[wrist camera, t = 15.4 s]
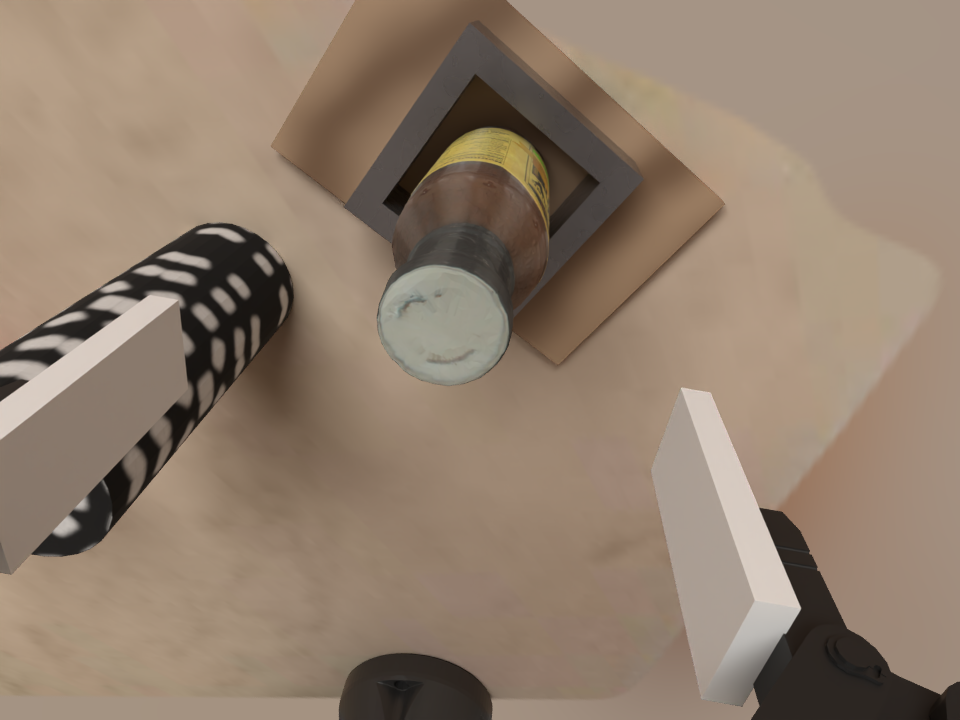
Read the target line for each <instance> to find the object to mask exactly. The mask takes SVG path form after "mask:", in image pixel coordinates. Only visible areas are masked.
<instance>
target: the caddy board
mask: <svg viewBox="0 0 960 720" xmlns="http://www.w3.org/2000/svg"><path fill="white" fill-rule="evenodd" d="M477 20H479V21H480V22H481V23H482V24H483V25H484V26H486V27H487V28H488V29H489V30H490V31H491V32H492V33H493V34H494V35H496V36H497V37H498V38H499V39H500V40H501V41H502V42H503V43H504V44H506V45H507V46H508V47H509V48H510V49H511V50H512V51H513V52H514V53H516V54H517V55H518V56H519V57H520V58H521V59H522V60H523V61H524V62H525V63H527V64H528V65H529V66H530V67H531V68H532V69H533V70H534V71H535V72H537V73H538V74H539V75H540V76H541V77H542V78H543V79H544V80H545V81H547V82H548V83H549V84H550V85H551V86H552V87H553V88H554V89H555V90H557V91H558V92H559V93H560V94H561V95H562V96H563V97H564V98H565V99H566V100H568V101H569V102H570V103H571V104H572V105H573V106H574V107H575V108H576V109H578V110H579V111H580V112H581V113H582V114H583V115H584V116H585V117H586V118H588V119H589V120H590V121H591V122H592V123H593V124H594V125H595V126H596V127H598V128H599V129H600V130H601V131H602V132H603V133H604V134H605V135H606V136H608V137H609V138H610V139H611V140H612V141H613V142H614V143H615V144H616V145H617V146H619V147H620V148H621V149H622V150H623V151H624V152H625V153H626V154H627V155H629V156H630V157H631V158H632V159H633V160H634V161H635V162H636V164H637V166H638V168H639V170H640V172H641V174H642V176H643V178H644V180H643V181H642V182H641V183H640V184H639V185H638V186H637V187H636V188H635V189H634V190H633V192H632V193H631V194H630V195H629V196H628V197H627V198H626V199H625V200H624V201H623V202H622V203H621V204H620V205H619V206H618V207H617V209H616V210H615V211H614V212H613V213H612V214H611V215H610V216H609V217H608V218H607V219H606V220H605V221H604V222H603V223H602V224H601V226H600V227H599V228H598V229H597V230H596V231H595V232H594V233H593V234H592V235H591V236H590V237H589V238H588V239H587V240H586V242H585V243H584V244H583V245H582V246H581V247H580V248H579V249H578V250H577V251H576V252H575V253H574V254H573V255H572V256H571V257H570V259H569V260H568V261H567V262H566V263H565V264H564V265H563V266H562V267H561V268H560V269H559V270H558V271H557V272H556V273H555V275H554V276H553V277H552V278H551V279H550V280H549V281H548V282H547V283H546V284H545V285H544V286H543V287H542V288H541V289H540V290H539V292H538V293H537V294H536V295H535V296H534V297H533V298H532V299H531V300H530V301H529V302H528V303H527V304H526V305H525V306H524V308H523V309H522V310H521V311H520V312H519V313H518V314H517V315H516V316H515V317H514V318H513V328H512V331H513V332H515V333H516V334H517V335H519V336H520V337H521V338H522V339H524V340H525V341H526V342H528V343H529V344H530V345H532V346H533V347H534V348H536V349H537V350H538V351H540V352H541V353H542V354H543V355H545V356H546V357H547V358H549V359H550V360H551V361H553V362H554V363H555V364H557V365H559V364H560V363H561V362H562V361H563V360H564V359H565V358H566V357H567V356H568V355H569V354H570V353H571V352H572V351H573V350H574V349H575V348H576V347H577V346H578V345H579V344H580V343H582V342H583V341H584V340H585V339H586V338H587V337H588V336H589V335H590V334H591V333H592V332H593V331H594V330H595V329H596V328H597V327H598V326H599V325H600V324H601V323H602V322H603V321H604V320H605V319H606V318H607V317H608V316H610V315H611V314H612V313H613V312H614V311H615V310H616V309H617V308H618V307H619V306H620V305H621V304H622V303H623V302H624V301H625V300H626V299H627V298H628V297H629V296H630V295H631V294H632V293H633V292H634V291H635V290H636V289H638V288H639V287H640V286H641V285H642V284H643V283H644V282H645V281H646V280H647V279H648V278H649V277H650V276H651V275H652V274H653V273H654V272H655V271H656V270H657V269H658V268H659V267H660V266H661V265H662V264H663V263H665V262H666V261H667V260H668V259H669V258H670V257H671V256H672V255H673V254H674V253H675V252H676V251H677V250H678V249H679V248H680V247H681V246H682V245H683V244H684V243H685V242H686V241H687V240H688V239H689V238H690V237H691V236H693V235H694V234H695V233H696V232H697V231H698V230H699V229H700V228H701V227H702V226H703V225H704V224H705V223H706V222H707V221H708V220H709V219H710V218H711V217H712V216H713V215H714V214H715V213H716V212H717V211H718V210H719V209H721V208H722V207H723V206H724V205H725V203H724V202H723V201H722V200H721V199H720V198H719V197H718V196H717V195H716V194H715V193H714V192H713V191H712V190H711V189H710V188H709V187H707V186H706V185H705V184H704V183H703V182H702V181H701V180H700V179H699V178H698V177H697V176H696V175H694V174H693V173H692V172H691V171H690V170H689V169H688V168H687V167H686V166H685V165H684V164H683V163H681V162H680V161H679V160H678V159H677V158H676V157H675V156H674V155H673V154H672V153H671V152H670V151H668V150H667V149H666V148H665V147H664V146H663V145H662V144H661V143H660V142H659V141H658V140H657V139H656V138H654V137H653V136H652V135H651V134H650V133H649V132H648V131H647V130H646V129H645V128H644V127H643V126H641V125H640V124H639V123H638V122H637V121H636V120H635V119H634V118H633V117H632V116H631V115H630V114H628V113H627V112H626V111H625V110H624V109H623V108H622V107H621V106H620V105H619V104H618V103H617V102H615V101H614V100H613V99H612V98H611V97H610V96H609V95H608V94H607V93H606V92H605V91H604V90H602V89H601V88H600V87H599V86H598V85H597V84H596V83H595V82H594V81H593V80H592V79H591V78H590V77H588V76H587V75H586V74H585V73H584V72H583V71H582V70H581V69H580V68H579V67H578V66H577V65H575V64H574V63H573V62H572V61H571V60H570V59H569V58H568V57H567V56H566V55H565V54H564V53H562V52H561V51H560V50H559V49H558V48H557V47H556V46H555V45H554V44H553V43H552V42H551V41H549V40H548V39H547V38H546V37H545V36H544V35H543V34H542V33H541V32H540V31H539V30H538V29H536V28H535V27H534V26H533V25H532V24H531V23H530V22H529V21H528V20H527V19H526V18H525V17H524V16H522V15H521V14H520V13H519V12H518V11H517V10H516V9H515V8H514V7H513V6H512V5H510V4H509V3H508V2H507V1H506V0H355V2H354V4H353V5H352V7H351V9H350V11H349V12H348V14H347V16H346V17H345V19H344V21H343V23H342V24H341V26H340V28H339V29H338V31H337V33H336V35H335V36H334V38H333V40H332V42H331V43H330V45H329V47H328V48H327V50H326V52H325V54H324V55H323V57H322V59H321V60H320V62H319V64H318V66H317V67H316V69H315V71H314V73H313V74H312V76H311V78H310V79H309V81H308V83H307V85H306V86H305V88H304V90H303V91H302V93H301V95H300V97H299V98H298V100H297V102H296V103H295V105H294V107H293V109H292V110H291V112H290V114H289V116H288V117H287V119H286V121H285V122H284V124H283V126H282V128H281V129H280V131H279V133H278V134H277V136H276V138H275V140H274V141H273V143H272V145H271V147H272V148H273V149H275V150H276V151H277V152H279V153H280V154H281V155H282V156H284V157H285V158H286V159H288V160H289V161H290V162H292V163H293V164H294V165H296V166H297V167H298V168H300V169H301V170H302V171H303V172H305V173H306V174H307V175H309V176H310V177H311V178H313V179H314V180H315V181H317V182H318V183H319V184H320V185H322V186H323V187H324V188H326V189H327V190H328V191H330V192H331V193H332V194H334V195H335V196H336V197H338V198H339V199H340V200H341V201H343V202H344V203H345V204H346V203H347V201H348V200H349V198H350V197H351V196H352V194H353V193H354V191H355V190H356V188H357V187H358V185H359V184H360V182H361V181H362V179H363V178H364V176H365V175H366V174H367V172H368V171H369V169H370V168H371V166H372V165H373V163H374V162H375V160H376V159H377V157H378V156H379V154H380V153H381V152H382V150H383V149H384V147H385V146H386V144H387V143H388V141H389V140H390V138H391V137H392V135H393V134H394V132H395V131H396V130H397V128H398V127H399V125H400V124H401V122H402V121H403V119H404V118H405V116H406V115H407V113H408V112H409V111H410V109H411V108H412V106H413V105H414V103H415V102H416V100H417V99H418V97H419V96H420V94H421V93H422V91H423V90H424V89H425V87H426V86H427V84H428V83H429V81H430V80H431V78H432V77H433V75H434V74H435V72H436V71H437V69H438V68H439V67H440V65H441V64H442V62H443V61H444V59H445V58H446V56H447V55H448V53H449V52H450V50H451V49H452V48H453V46H454V45H455V43H456V42H457V40H458V39H459V37H460V36H461V34H462V33H463V31H464V30H465V28H466V27H467V26H468V24H469V23H470V22H474V21H477ZM486 126H506V127H509V128H512V129H514V130H516V131H517V132H519V133H520V134H521V135H523V136H524V137H526V138H527V139H528V140H529V141H530V142H531V143H532V144H533V145H534V146H535V147H536V148H537V150H538V151H539V152H540V153H541V155H542V157H543V159H544V163H545V166H546V168H547V172H548V177H549V212H550V214H549V217H550V216H551V215H552V214H553V213H554V212H555V211H556V210H557V208H558V207H559V206H560V205H561V204H562V203H563V202H564V200H565V199H566V198H567V197H568V196H569V195H570V194H571V193H572V191H573V190H574V189H575V188H576V187H577V186H578V185H579V183H580V182H581V181H582V180H583V179H584V178H585V177H586V176H587V174H588V172H587V171H586V170H585V169H584V168H583V167H582V166H580V165H579V164H578V163H577V162H576V161H575V160H574V159H572V158H571V157H570V156H569V155H568V154H567V153H565V152H564V151H563V150H562V149H561V148H560V147H559V146H557V145H556V144H555V143H554V142H553V141H552V140H551V139H549V138H548V137H547V136H546V135H545V134H544V133H543V132H541V131H540V130H539V129H538V128H537V127H536V126H535V125H533V124H532V123H531V122H530V121H529V120H528V119H527V118H525V117H524V116H523V115H522V114H521V113H520V112H519V111H517V110H516V109H515V108H514V107H513V106H512V105H511V104H509V103H508V102H507V101H506V100H505V99H504V98H503V97H501V96H500V95H499V94H498V93H497V92H496V91H495V90H493V89H492V88H491V87H490V86H489V85H488V84H487V83H485V82H484V81H483V80H482V79H481V78H480V77H479V76H477V75H476V77H475V78H474V80H473V81H472V82H471V84H470V85H469V87H468V88H467V89H466V91H465V92H464V94H463V95H462V96H461V98H460V99H459V100H458V102H457V103H456V105H455V106H454V107H453V109H452V110H451V112H450V113H449V114H448V116H447V117H446V119H445V120H444V121H443V123H442V124H441V126H440V127H439V128H438V130H437V131H436V132H435V134H434V135H433V137H432V138H431V139H430V141H429V142H428V144H427V145H426V146H425V148H424V149H423V151H422V152H421V153H420V155H419V156H418V158H417V159H416V160H415V162H414V163H413V165H412V166H411V167H410V169H409V170H408V171H407V173H406V174H405V176H404V177H403V178H402V180H401V181H400V183H399V185H400V186H401V187H403V188H404V189H405V190H406V191H408V192H409V193H410V194H412V193H413V191H414V189H415V188H416V187H417V186H418V184H419V183H420V182H421V181H422V179H423V178H424V177H425V175H426V174H427V173H428V172H429V170H430V169H431V168H432V167H433V165H434V164H435V163H436V162H437V160H438V159H439V158H440V157H441V155H442V154H443V153H444V152H445V150H446V149H447V148H448V147H449V146H450V145H451V144H452V143H453V142H454V141H455V140H457V139H458V138H459V137H460V136H462V135H463V134H465V133H466V132H469V131H472V130H475V129H478V128H482V127H486Z"/></svg>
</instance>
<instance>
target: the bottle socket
mask: <svg viewBox="0 0 960 720" xmlns="http://www.w3.org/2000/svg"><path fill="white" fill-rule="evenodd" d="M476 75H477V76H479V77H480V78H481V79H482V80H483V81H484V82H485V83H487V84H488V85H489V86H490V87H491V88H492V89H493V90H495V91H496V92H497V93H498V94H499V95H500V96H501V97H503V98H504V99H505V100H506V101H507V102H508V103H509V104H511V105H512V106H513V107H514V108H515V109H516V110H517V111H519V112H520V113H521V114H522V115H523V116H524V117H525V118H527V119H528V120H529V121H530V122H531V123H532V124H533V125H535V126H536V127H537V128H538V129H539V130H540V131H541V132H543V133H544V134H545V135H546V136H547V137H548V138H549V139H551V140H552V141H553V142H554V143H555V144H556V145H557V146H559V147H560V148H561V149H562V150H563V151H564V152H565V153H567V154H568V155H569V156H570V157H571V158H572V159H574V160H575V161H576V162H577V163H578V164H579V165H580V166H582V167H583V168H584V169H585V170H586V171H587V172H588V174H587V176H586V177H585V178H584V179H583V180H582V181H581V182H580V183H579V185H578V186H577V187H576V188H575V189H574V190H573V191H572V193H571V194H570V195H569V196H568V197H567V198H566V199H565V200H564V202H563V203H562V204H561V205H560V206H559V207H558V208H557V210H556V211H555V212H554V213H553V214H552V215H551V216H550V217H549V251H548V261H547V265H546V269H545V271H544V274H543V276H542V278H541V280H540V282H539V283H538V284H537V286H536V287H535V289H534V290H533V291H532V292H531V293H530V295H529V296H528V297H527V298H526V299H525V301H524V302H522V304H521V305H520V306H518V307H517V308H516V309H514V310H513V313H514V317H515V316H516V315H517V314H518V313H519V312H520V311H521V310H522V309H523V308H524V306H525V305H526V304H527V303H528V302H529V301H530V300H531V299H532V298H533V297H534V296H535V295H536V294H537V293H538V292H539V290H540V289H541V288H542V287H543V286H544V285H545V284H546V283H547V282H548V281H549V280H550V279H551V278H552V277H553V276H554V275H555V273H556V272H557V271H558V270H559V269H560V268H561V267H562V266H563V265H564V264H565V263H566V262H567V261H568V260H569V259H570V257H571V256H572V255H573V254H574V253H575V252H576V251H577V250H578V249H579V248H580V247H581V246H582V245H583V244H584V243H585V242H586V240H587V239H588V238H589V237H590V236H591V235H592V234H593V233H594V232H595V231H596V230H597V229H598V228H599V227H600V226H601V224H602V223H603V222H604V221H605V220H606V219H607V218H608V217H609V216H610V215H611V214H612V213H613V212H614V211H615V210H616V209H617V207H618V206H619V205H620V204H621V203H622V202H623V201H624V200H625V199H626V198H627V197H628V196H629V195H630V194H631V193H632V192H633V190H634V189H635V188H636V187H637V186H638V185H639V184H640V183H641V182H642V181H643V180H644V178H643V176H642V174H641V172H640V170H639V168H638V166H637V164H636V162H635V161H634V160H633V159H632V158H631V157H630V156H629V155H627V154H626V153H625V152H624V151H623V150H622V149H621V148H620V147H619V146H617V145H616V144H615V143H614V142H613V141H612V140H611V139H610V138H609V137H608V136H606V135H605V134H604V133H603V132H602V131H601V130H600V129H599V128H598V127H596V126H595V125H594V124H593V123H592V122H591V121H590V120H589V119H588V118H586V117H585V116H584V115H583V114H582V113H581V112H580V111H579V110H578V109H576V108H575V107H574V106H573V105H572V104H571V103H570V102H569V101H568V100H566V99H565V98H564V97H563V96H562V95H561V94H560V93H559V92H558V91H557V90H555V89H554V88H553V87H552V86H551V85H550V84H549V83H548V82H547V81H545V80H544V79H543V78H542V77H541V76H540V75H539V74H538V73H537V72H535V71H534V70H533V69H532V68H531V67H530V66H529V65H528V64H527V63H525V62H524V61H523V60H522V59H521V58H520V57H519V56H518V55H517V54H516V53H514V52H513V51H512V50H511V49H510V48H509V47H508V46H507V45H506V44H504V43H503V42H502V41H501V40H500V39H499V38H498V37H497V36H496V35H494V34H493V33H492V32H491V31H490V30H489V29H488V28H487V27H486V26H484V25H483V24H482V23H481V22H480V21H479V20H477V21H474V22H470V23H469V24H468V26H467V27H466V28H465V30H464V31H463V33H462V34H461V36H460V37H459V39H458V40H457V42H456V43H455V45H454V46H453V48H452V49H451V50H450V52H449V53H448V55H447V56H446V58H445V59H444V61H443V62H442V64H441V65H440V67H439V68H438V69H437V71H436V72H435V74H434V75H433V77H432V78H431V80H430V81H429V83H428V84H427V86H426V87H425V89H424V90H423V91H422V93H421V94H420V96H419V97H418V99H417V100H416V102H415V103H414V105H413V106H412V108H411V109H410V111H409V112H408V113H407V115H406V116H405V118H404V119H403V121H402V122H401V124H400V125H399V127H398V128H397V130H396V131H395V132H394V134H393V135H392V137H391V138H390V140H389V141H388V143H387V144H386V146H385V147H384V149H383V150H382V152H381V153H380V154H379V156H378V157H377V159H376V160H375V162H374V163H373V165H372V166H371V168H370V169H369V171H368V172H367V174H366V175H365V176H364V178H363V179H362V181H361V182H360V184H359V185H358V187H357V188H356V190H355V191H354V193H353V194H352V196H351V197H350V198H349V200H348V201H347V203H346V204H345V206H344V208H346V209H347V210H348V211H350V212H351V213H352V214H354V215H355V216H356V217H358V218H359V219H360V220H361V221H363V222H364V223H365V224H367V225H368V226H369V227H371V228H372V229H373V230H375V231H376V232H377V233H379V234H380V235H381V236H383V237H384V238H385V239H386V240H388V241H389V242H390V243H392V239H393V234H394V231H395V227H396V223H397V221H398V219H399V215H400V214H401V212H402V211H403V209H404V207H405V205H406V204H407V202H408V200H409V198H410V196H411V194H410V193H409V192H408V191H406V190H405V189H404V188H403V187H401V186H400V185H399V183H400V181H401V180H402V178H403V177H404V176H405V174H406V173H407V171H408V170H409V169H410V167H411V166H412V165H413V163H414V162H415V160H416V159H417V158H418V156H419V155H420V153H421V152H422V151H423V149H424V148H425V146H426V145H427V144H428V142H429V141H430V139H431V138H432V137H433V135H434V134H435V132H436V131H437V130H438V128H439V127H440V126H441V124H442V123H443V121H444V120H445V119H446V117H447V116H448V114H449V113H450V112H451V110H452V109H453V107H454V106H455V105H456V103H457V102H458V100H459V99H460V98H461V96H462V95H463V94H464V92H465V91H466V89H467V88H468V87H469V85H470V84H471V82H472V81H473V80H474V78H475V77H476Z"/></svg>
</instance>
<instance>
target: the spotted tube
mask: <svg viewBox="0 0 960 720" xmlns="http://www.w3.org/2000/svg"><path fill="white" fill-rule="evenodd" d="M149 295H153V296H159V297H165V298H170V299H176V300H179V308H180V317H181V327H182V336H183V345H184V355H185V364H186V374H187V383H188V389H187V391H186V392H185V393H184V394H183V395H182V396H181V397H180V398H179V399H178V400H177V401H176V402H175V403H174V404H173V405H172V406H171V407H170V408H169V409H168V411H167V412H166V413H165V414H164V415H163V416H162V417H161V418H160V419H159V420H158V421H157V422H156V423H155V424H154V425H153V426H152V427H151V428H150V429H149V431H148V432H147V433H146V434H145V435H144V436H143V437H142V438H141V439H140V440H139V441H138V442H137V443H136V444H135V445H134V446H133V447H132V448H131V449H130V450H129V452H128V453H127V454H126V455H125V456H124V457H123V458H122V459H121V460H120V461H119V462H118V463H117V464H116V465H115V466H114V467H113V468H112V469H111V470H110V472H109V473H108V474H107V475H106V476H105V477H104V478H103V479H102V480H101V481H100V482H99V483H98V484H97V485H96V486H95V487H94V488H93V489H92V490H91V492H90V493H89V494H88V495H87V496H86V497H85V498H84V499H83V500H82V501H81V502H80V503H79V504H78V505H77V506H76V507H75V508H74V509H73V510H72V512H71V513H70V514H69V515H68V516H67V517H66V518H65V519H64V520H63V521H62V522H61V523H60V524H59V525H58V526H57V527H56V528H55V529H54V530H53V531H52V533H51V534H50V535H49V536H48V537H47V538H46V539H45V540H44V541H43V542H42V543H41V544H40V545H39V546H38V547H37V548H36V549H35V550H34V551H33V553H32V555H39V556H59V557H62V556H68V555H74V554H79V553H81V552H84V551H86V550H89V549H91V548H92V547H94V546H95V545H96V544H98V543H99V542H100V541H102V539H103V538H104V537H105V536H106V535H107V533H108V532H109V531H110V530H111V529H112V527H113V526H114V525H115V524H116V523H117V521H118V520H119V519H120V518H121V517H122V515H123V514H124V513H125V512H126V511H127V509H128V508H129V507H130V506H131V505H132V503H133V502H134V501H135V500H136V499H137V497H138V496H139V495H140V494H141V493H142V491H143V490H144V489H145V488H146V487H147V485H148V484H149V483H150V482H151V481H152V479H153V478H154V477H155V476H156V475H157V473H158V472H159V471H160V470H161V469H162V467H163V466H164V465H165V464H166V463H167V461H168V460H169V459H170V458H171V457H172V455H173V454H174V453H175V452H176V451H177V450H178V448H179V447H180V446H181V445H182V444H183V442H184V441H185V440H186V439H187V438H188V436H189V435H190V434H191V433H192V432H193V430H194V429H195V428H196V427H197V426H198V424H199V423H200V422H201V421H202V420H203V418H204V417H205V416H206V415H207V414H208V412H209V411H210V410H211V409H212V408H213V406H214V405H215V404H216V403H217V402H218V400H219V399H220V398H221V397H222V396H223V394H224V393H225V392H226V391H227V390H228V388H229V387H230V386H231V385H232V384H233V382H234V381H235V380H236V379H237V378H238V376H239V375H240V374H241V373H242V372H243V370H244V369H245V368H246V367H247V366H248V364H249V363H250V362H251V361H252V360H253V358H254V357H255V356H256V355H257V354H258V352H259V351H260V350H261V349H262V348H263V347H264V345H265V344H266V343H267V342H268V341H269V339H270V338H271V337H272V336H273V335H274V333H275V332H276V331H277V330H278V329H279V327H280V326H281V325H282V324H283V322H284V321H285V320H286V318H287V317H288V315H289V312H290V310H291V307H292V301H293V285H292V282H291V278H290V274H289V272H288V270H287V268H286V266H285V263H284V262H283V260H282V259H281V258H280V256H279V255H278V253H277V252H276V251H275V250H274V249H273V248H272V247H271V246H270V245H269V244H268V243H267V242H266V241H265V240H263V239H262V238H261V237H259V236H258V235H257V234H255V233H253V232H251V231H249V230H247V229H245V228H242V227H239V226H236V225H233V224H227V223H220V222H219V223H207V224H203V225H200V226H197V227H195V228H193V229H191V230H190V231H188V232H186V233H185V234H183V235H182V236H180V237H179V238H177V239H175V240H174V241H172V242H171V243H169V244H167V245H166V246H164V247H163V248H161V249H160V250H158V251H156V252H155V253H153V254H152V255H150V256H149V257H147V258H145V259H144V260H142V261H141V262H139V263H138V264H136V265H134V266H133V267H131V268H130V269H128V270H126V271H125V272H123V273H122V274H120V275H119V276H117V277H115V278H114V279H112V280H111V281H109V282H108V283H106V284H104V285H103V286H101V287H100V288H98V289H96V290H95V291H93V292H92V293H90V294H89V295H87V296H85V297H84V298H82V299H81V300H79V301H78V302H76V303H74V304H73V305H71V306H70V307H68V308H67V309H65V310H63V311H62V312H60V313H59V314H57V315H55V316H54V317H52V318H51V319H49V320H48V321H46V322H44V323H43V324H41V325H40V326H38V327H37V328H35V329H33V330H32V331H30V332H29V333H27V334H25V335H24V336H22V337H21V338H19V339H18V340H16V341H14V342H13V343H11V344H10V345H8V346H7V347H5V348H3V349H2V350H0V387H2V386H5V385H7V384H10V383H12V382H15V381H17V380H20V379H23V380H29V381H30V380H31V379H33V378H34V377H36V376H37V375H38V374H40V373H41V372H43V371H44V370H45V369H47V368H48V367H50V366H51V365H52V364H54V363H55V362H57V361H58V360H59V359H61V358H62V357H64V356H65V355H66V354H68V353H69V352H71V351H72V350H73V349H75V348H76V347H78V346H79V345H80V344H82V343H83V342H85V341H86V340H87V339H89V338H90V337H92V336H93V335H94V334H96V333H97V332H99V331H100V330H101V329H103V328H104V327H106V326H107V325H108V324H110V323H111V322H112V321H114V320H115V319H117V318H118V317H119V316H121V315H122V314H124V313H125V312H126V311H128V310H129V309H131V308H132V307H133V306H135V305H136V304H138V303H139V302H140V301H142V300H143V299H145V298H146V297H147V296H149Z"/></svg>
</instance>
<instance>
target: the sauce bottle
mask: <svg viewBox="0 0 960 720" xmlns="http://www.w3.org/2000/svg"><path fill="white" fill-rule="evenodd" d="M549 214H550V212H549V177H548V172H547V168H546V166H545V163H544V159H543V157H542V155H541V153H540V152H539V151H538V150H537V148H536V147H535V146H534V145H533V144H532V143H531V142H530V141H529V140H528V139H527V138H526V137H524V136H523V135H521V134H520V133H519V132H517V131H516V130H514V129H512V128H509V127H506V126H486V127H482V128H478V129H475V130H472V131H469V132H466V133H465V134H463V135H462V136H460V137H459V138H458V139H457V140H455V141H454V142H453V143H452V144H451V145H450V146H449V147H448V148H447V149H446V150H445V152H444V153H443V154H442V155H441V157H440V158H439V159H438V160H437V162H436V163H435V164H434V165H433V167H432V168H431V169H430V170H429V172H428V173H427V174H426V175H425V177H424V178H423V179H422V181H421V182H420V183H419V184H418V186H417V187H416V188H415V189H414V191H413V193H412V194H411V196H410V198H409V200H408V202H407V204H406V205H405V207H404V209H403V211H402V212H401V214H400V215H399V219H398V221H397V223H396V227H395V231H394V234H393V239H392V248H393V255H394V261H395V267H396V269H397V270H396V271H395V272H394V273H393V274H392V276H391V277H390V279H389V280H388V282H387V285H386V288H385V290H384V293H383V295H382V298H381V301H380V303H379V308H378V314H377V322H378V333H379V336H380V339H381V343H382V345H383V346H384V348H385V350H386V351H387V353H388V354H389V356H390V357H391V358H392V360H394V361H395V362H396V363H397V364H398V365H399V366H400V367H401V368H402V369H403V370H404V371H405V372H407V373H408V374H409V375H411V376H413V377H416V378H417V379H419V380H421V381H426V382H429V383H433V384H439V385H445V386H452V385H459V384H465V383H468V382H470V381H473V380H476V379H478V378H481V377H482V376H483V375H485V374H486V373H487V372H489V371H490V370H491V369H492V368H493V367H494V366H495V365H496V364H497V363H498V362H499V361H500V359H501V358H502V356H503V355H504V353H505V351H506V350H507V348H508V345H509V341H510V337H511V333H512V328H513V318H514V313H513V310H514V309H516V308H517V307H518V306H520V305H521V304H522V302H524V301H525V299H526V298H527V297H528V296H529V295H530V293H531V292H532V291H533V290H534V289H535V287H536V286H537V284H538V283H539V282H540V280H541V278H542V276H543V274H544V271H545V269H546V265H547V261H548V251H549Z"/></svg>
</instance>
